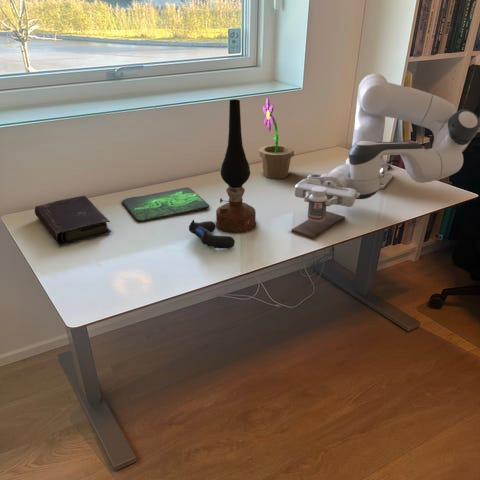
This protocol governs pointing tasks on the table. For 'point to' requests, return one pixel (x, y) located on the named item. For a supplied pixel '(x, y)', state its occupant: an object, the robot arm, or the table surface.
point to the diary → (72, 220)
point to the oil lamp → (235, 180)
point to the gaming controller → (210, 235)
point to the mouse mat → (164, 204)
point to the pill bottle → (317, 204)
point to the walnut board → (318, 225)
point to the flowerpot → (274, 151)
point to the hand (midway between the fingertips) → (316, 201)
